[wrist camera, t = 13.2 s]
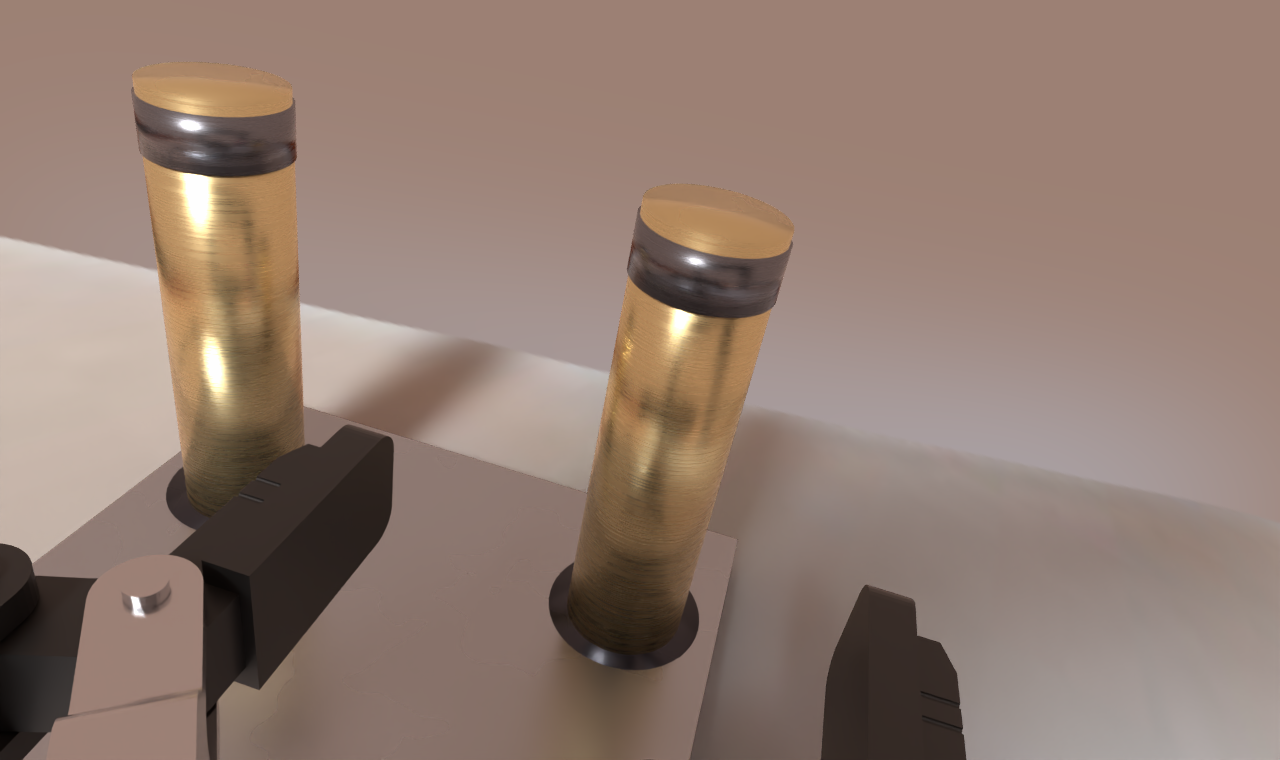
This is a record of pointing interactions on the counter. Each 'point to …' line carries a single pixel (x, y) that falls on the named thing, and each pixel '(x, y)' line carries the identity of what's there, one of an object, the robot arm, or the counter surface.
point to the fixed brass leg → (225, 265)
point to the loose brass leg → (672, 405)
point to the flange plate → (442, 627)
